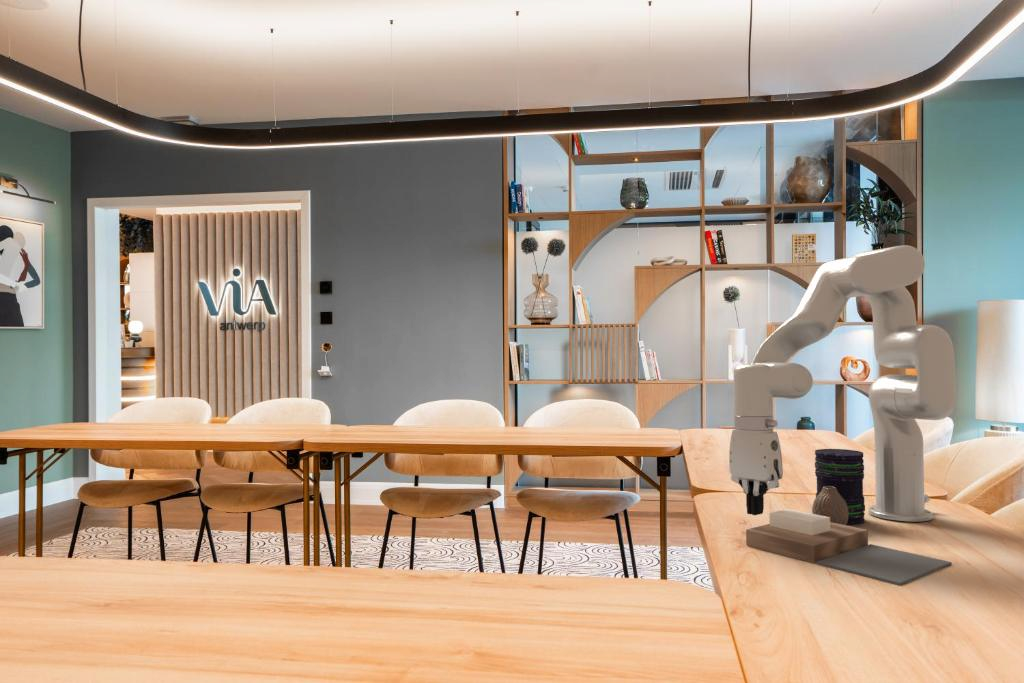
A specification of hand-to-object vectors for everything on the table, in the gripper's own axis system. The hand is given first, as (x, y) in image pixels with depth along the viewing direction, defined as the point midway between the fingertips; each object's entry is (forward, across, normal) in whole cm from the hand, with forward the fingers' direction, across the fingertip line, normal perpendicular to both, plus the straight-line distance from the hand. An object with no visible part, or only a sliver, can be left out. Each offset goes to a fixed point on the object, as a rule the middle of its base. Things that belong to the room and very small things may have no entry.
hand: (755, 513), depth 141 cm
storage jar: (+4, -4, -24) cm, 25 cm away
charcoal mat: (+4, -26, 0) cm, 26 cm away
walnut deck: (+4, -11, 0) cm, 12 cm away
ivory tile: (+1, -10, 0) cm, 10 cm away
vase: (+4, -7, -15) cm, 17 cm away
